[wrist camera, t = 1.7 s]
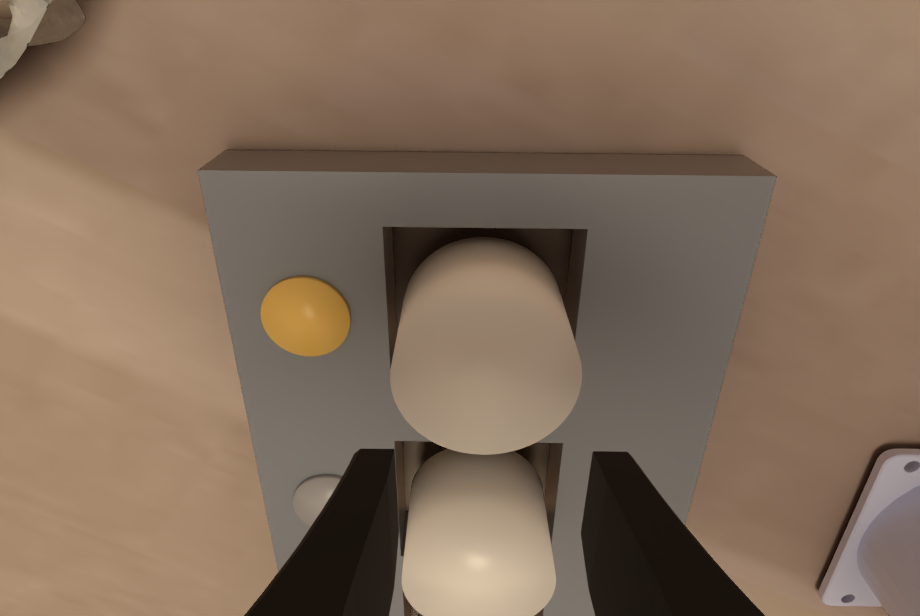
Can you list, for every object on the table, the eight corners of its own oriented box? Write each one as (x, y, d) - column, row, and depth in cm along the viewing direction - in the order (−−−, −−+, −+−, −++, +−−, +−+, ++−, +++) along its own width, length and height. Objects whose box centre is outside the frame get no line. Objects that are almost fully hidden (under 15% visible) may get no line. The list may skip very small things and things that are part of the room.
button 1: (568, 237, 16) (592, 297, 13) (554, 376, 18) (572, 455, 15) (400, 236, 16) (385, 295, 13) (406, 374, 18) (394, 454, 15)
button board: (743, 155, 16) (780, 178, 14) (628, 650, 27) (640, 702, 25) (226, 150, 16) (194, 172, 14) (313, 646, 27) (301, 697, 25)
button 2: (547, 443, 19) (562, 530, 16) (537, 540, 21) (549, 632, 18) (408, 442, 19) (398, 528, 16) (412, 539, 21) (404, 630, 18)
